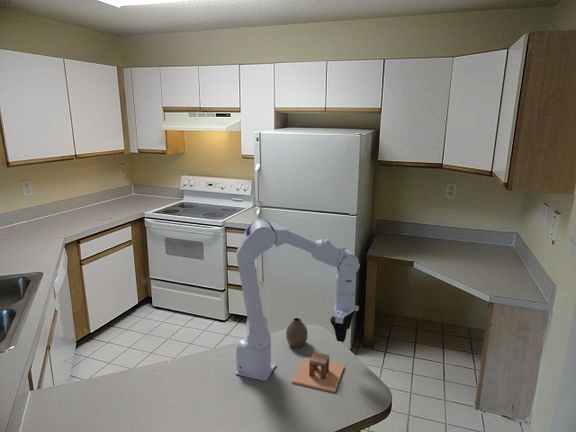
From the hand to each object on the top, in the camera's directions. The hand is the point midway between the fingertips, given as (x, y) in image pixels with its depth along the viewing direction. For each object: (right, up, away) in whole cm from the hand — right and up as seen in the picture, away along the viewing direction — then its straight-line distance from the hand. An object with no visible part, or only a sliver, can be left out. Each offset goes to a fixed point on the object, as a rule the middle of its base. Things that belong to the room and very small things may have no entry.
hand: (343, 334), depth 117 cm
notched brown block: (-7, -10, -4) cm, 13 cm away
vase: (-13, -7, +12) cm, 19 cm away
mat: (-7, -10, -3) cm, 13 cm away
